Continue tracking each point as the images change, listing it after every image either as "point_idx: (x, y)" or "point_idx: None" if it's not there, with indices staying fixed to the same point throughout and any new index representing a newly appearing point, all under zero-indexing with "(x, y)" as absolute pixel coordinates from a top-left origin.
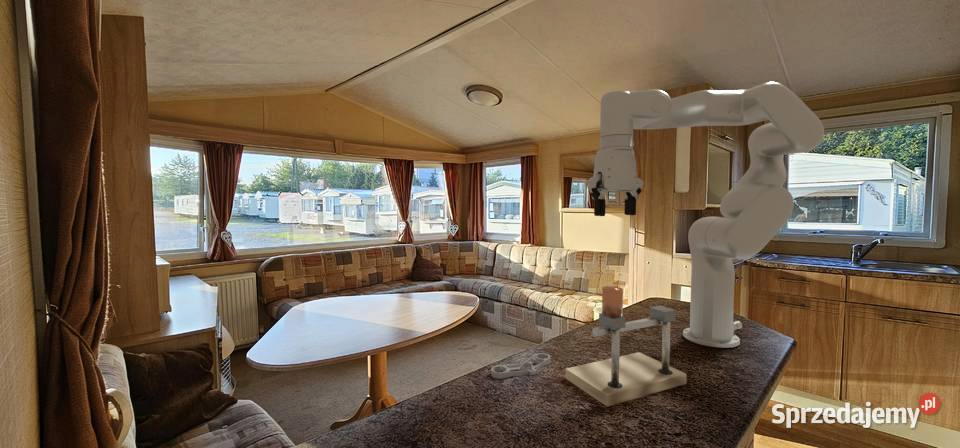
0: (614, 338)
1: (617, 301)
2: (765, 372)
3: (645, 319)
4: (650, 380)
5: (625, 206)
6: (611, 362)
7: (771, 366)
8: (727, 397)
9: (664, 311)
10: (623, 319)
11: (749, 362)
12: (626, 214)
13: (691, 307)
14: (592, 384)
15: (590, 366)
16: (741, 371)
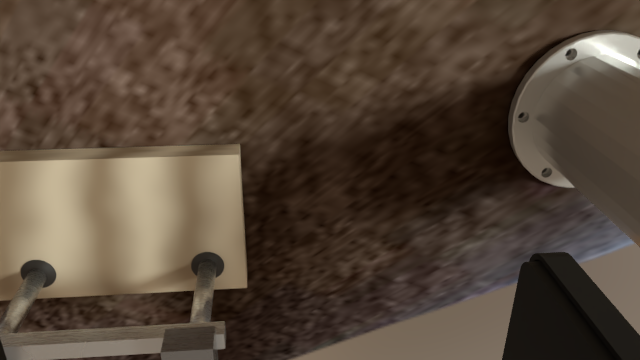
0: None
1: None
2: (463, 293)
3: (130, 345)
4: (138, 283)
5: (577, 351)
6: (8, 305)
7: (510, 280)
8: (275, 332)
9: None
10: None
11: (493, 251)
12: (517, 286)
13: (601, 114)
14: None
15: (32, 178)
16: (422, 274)
